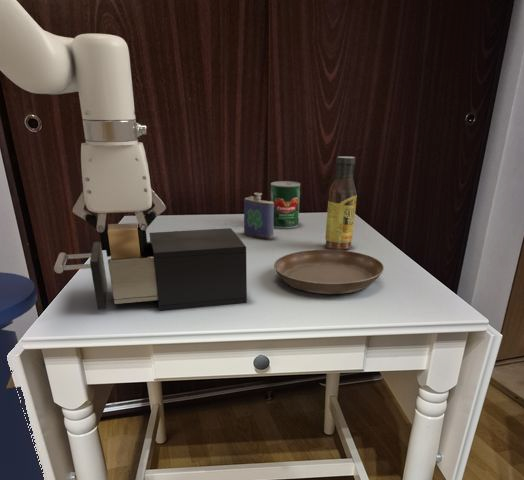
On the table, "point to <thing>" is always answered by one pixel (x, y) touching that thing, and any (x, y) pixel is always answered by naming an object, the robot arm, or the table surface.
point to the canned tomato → (285, 204)
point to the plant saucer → (328, 271)
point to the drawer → (117, 275)
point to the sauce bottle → (341, 206)
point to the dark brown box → (199, 268)
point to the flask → (258, 217)
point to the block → (123, 240)
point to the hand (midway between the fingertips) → (125, 252)
